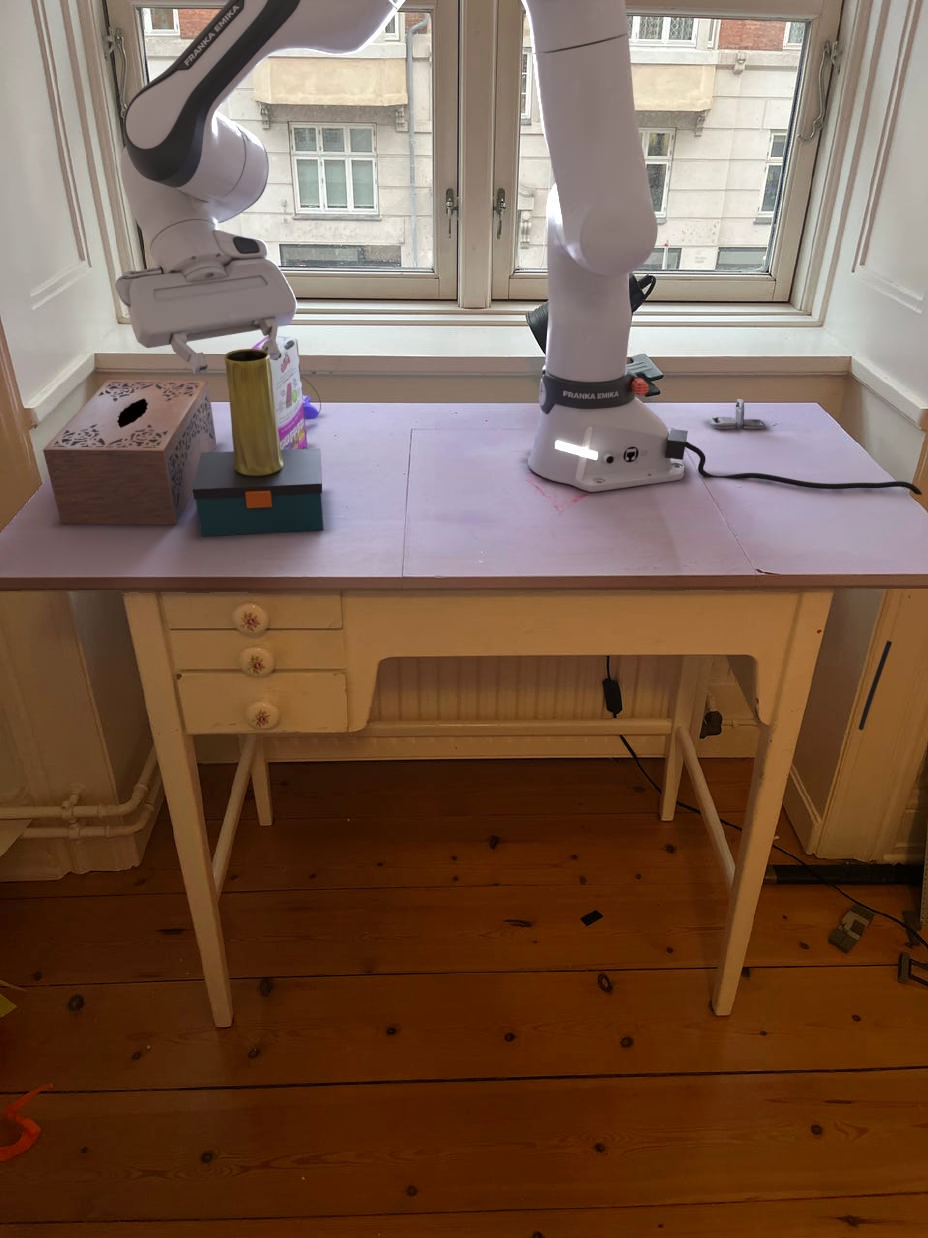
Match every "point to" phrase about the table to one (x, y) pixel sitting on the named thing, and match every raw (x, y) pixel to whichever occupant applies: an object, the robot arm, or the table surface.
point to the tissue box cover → (131, 453)
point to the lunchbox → (259, 495)
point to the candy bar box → (288, 393)
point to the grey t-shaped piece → (739, 416)
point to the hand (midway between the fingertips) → (238, 363)
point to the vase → (253, 413)
